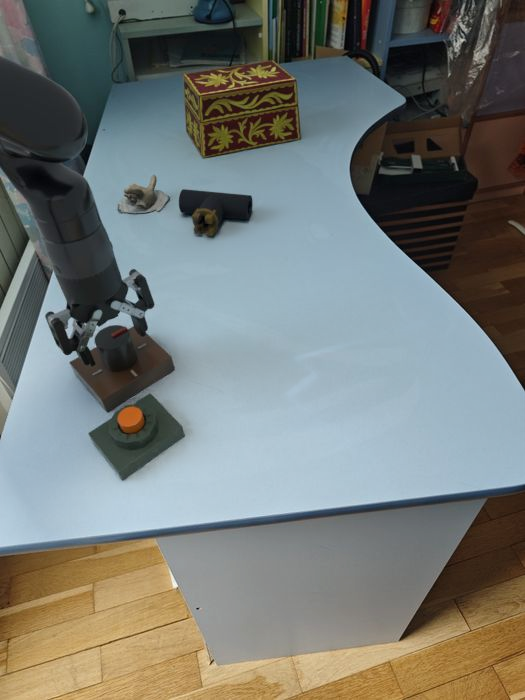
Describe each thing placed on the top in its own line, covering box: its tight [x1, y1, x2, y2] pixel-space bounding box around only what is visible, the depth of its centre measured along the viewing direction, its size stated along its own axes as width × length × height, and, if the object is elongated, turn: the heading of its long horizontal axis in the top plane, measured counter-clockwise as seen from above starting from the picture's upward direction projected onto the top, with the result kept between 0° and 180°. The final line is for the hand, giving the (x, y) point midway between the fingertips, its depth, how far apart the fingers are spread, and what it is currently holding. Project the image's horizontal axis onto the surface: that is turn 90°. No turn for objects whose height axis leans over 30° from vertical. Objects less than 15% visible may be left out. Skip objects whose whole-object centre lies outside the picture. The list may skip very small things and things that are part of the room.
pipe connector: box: [178, 188, 254, 237], centre depth 102 cm, size 12×5×15 cm
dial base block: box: [69, 325, 176, 413], centre depth 74 cm, size 12×10×3 cm
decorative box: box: [182, 60, 302, 159], centre depth 128 cm, size 28×19×15 cm
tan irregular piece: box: [117, 174, 170, 214], centre depth 108 cm, size 10×12×6 cm
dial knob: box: [94, 324, 137, 372], centre depth 72 cm, size 5×5×5 cm
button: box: [118, 407, 145, 434], centre depth 64 cm, size 3×3×2 cm
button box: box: [87, 392, 186, 481], centre depth 66 cm, size 10×8×4 cm
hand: (116, 347), depth 72 cm, fingers open, 8 cm apart
